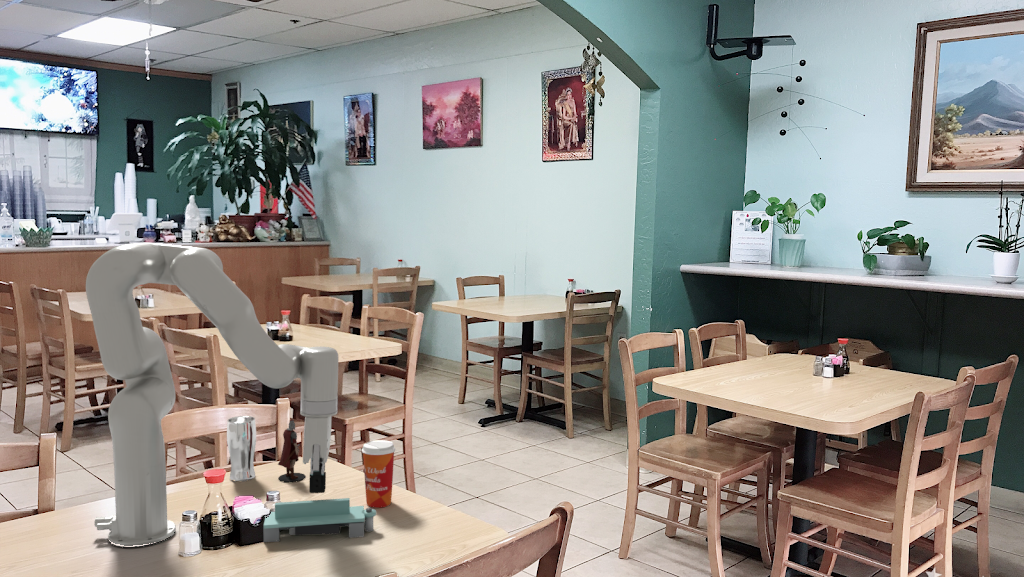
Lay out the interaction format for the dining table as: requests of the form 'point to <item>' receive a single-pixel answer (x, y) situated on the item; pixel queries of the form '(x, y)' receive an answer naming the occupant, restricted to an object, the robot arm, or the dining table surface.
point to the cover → (316, 513)
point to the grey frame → (354, 527)
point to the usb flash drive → (316, 529)
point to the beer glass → (241, 447)
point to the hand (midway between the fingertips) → (317, 491)
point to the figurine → (290, 455)
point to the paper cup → (378, 472)
